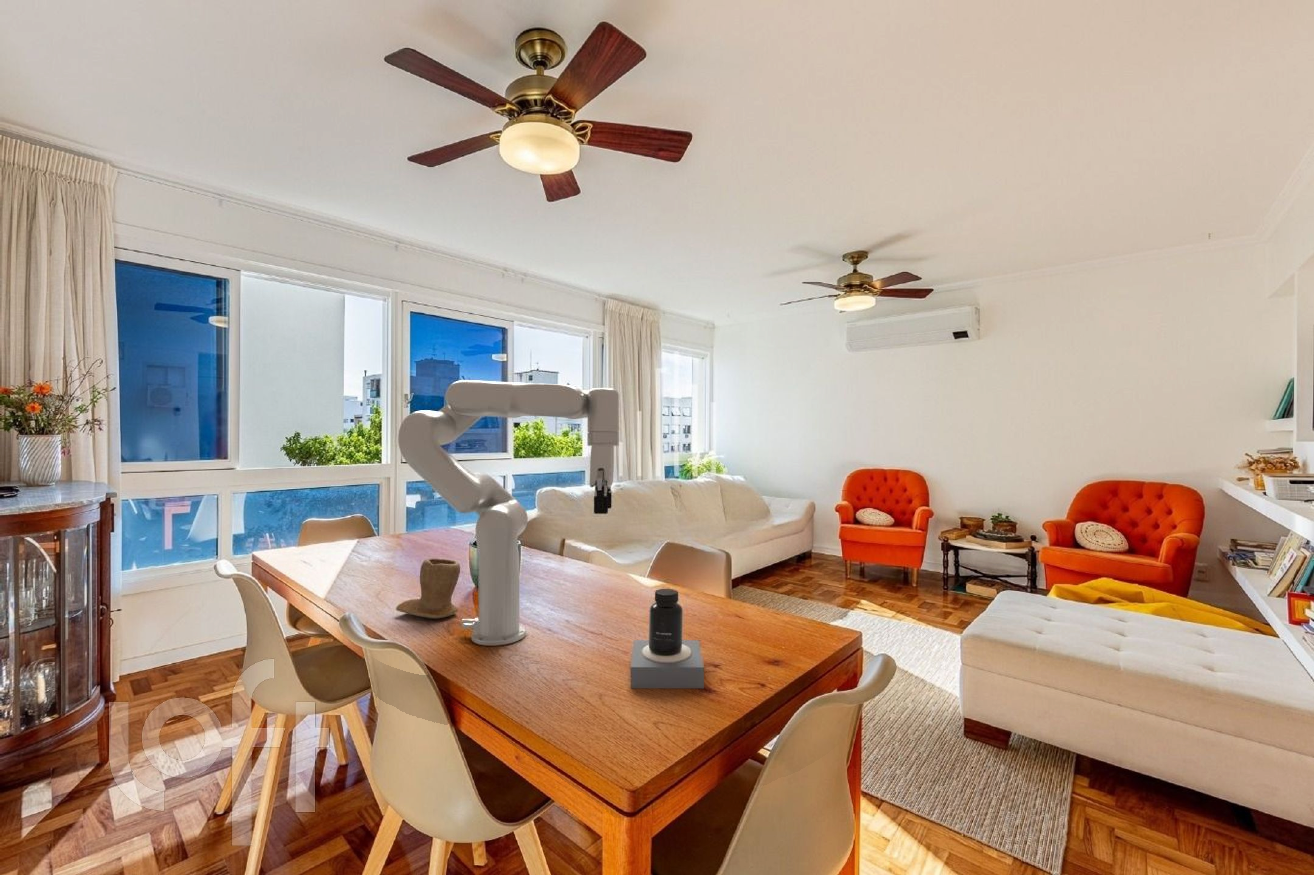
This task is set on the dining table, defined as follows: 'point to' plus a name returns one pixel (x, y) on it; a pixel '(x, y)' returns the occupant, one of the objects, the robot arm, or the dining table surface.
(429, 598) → the tan flared hollow piece
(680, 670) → the plinth
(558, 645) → the dining table surface
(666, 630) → the supplement bottle
